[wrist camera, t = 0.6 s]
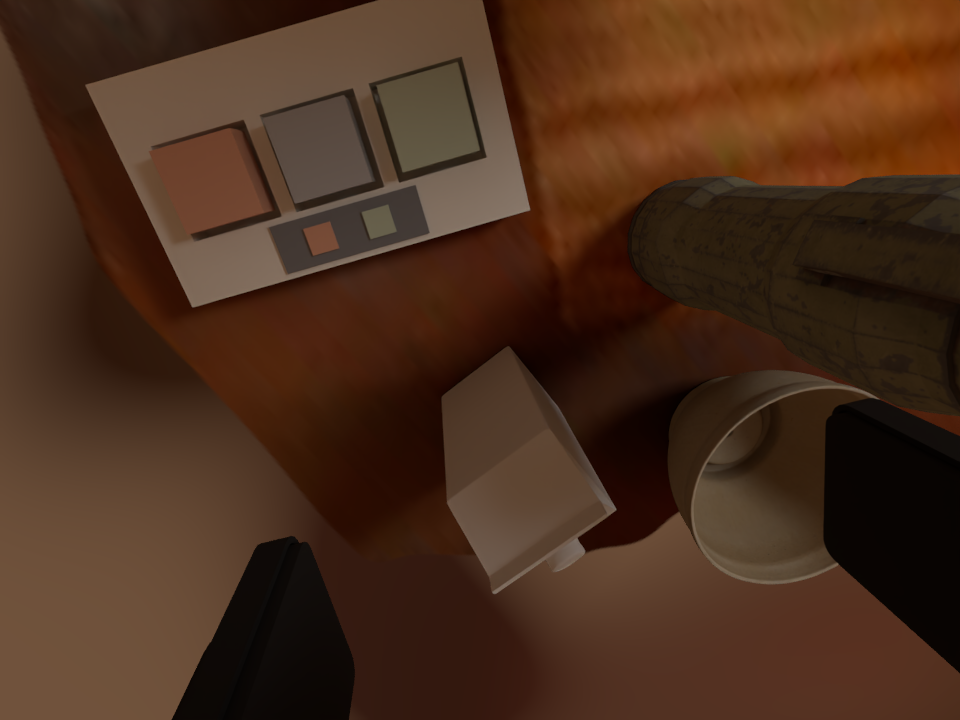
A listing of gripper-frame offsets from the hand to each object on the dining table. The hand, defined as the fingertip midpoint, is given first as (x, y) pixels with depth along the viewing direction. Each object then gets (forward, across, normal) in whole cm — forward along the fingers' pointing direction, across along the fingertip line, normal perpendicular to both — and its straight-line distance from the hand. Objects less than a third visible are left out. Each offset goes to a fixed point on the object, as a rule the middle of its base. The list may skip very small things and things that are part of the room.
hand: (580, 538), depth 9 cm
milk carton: (+32, -1, +11) cm, 34 cm away
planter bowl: (+32, -20, +18) cm, 42 cm away
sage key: (+29, 0, -10) cm, 31 cm away
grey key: (+29, +7, -10) cm, 32 cm away
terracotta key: (+30, +14, -9) cm, 34 cm away
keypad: (+32, +7, -10) cm, 34 cm away
